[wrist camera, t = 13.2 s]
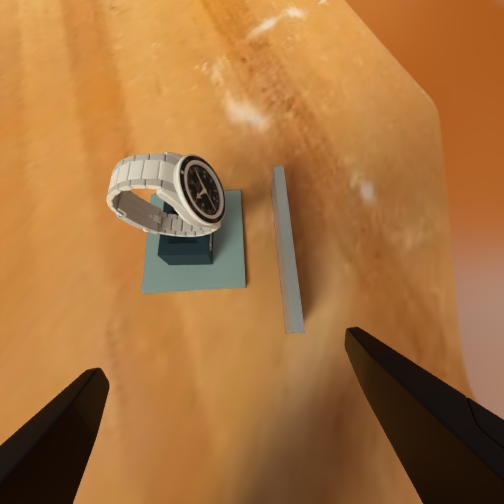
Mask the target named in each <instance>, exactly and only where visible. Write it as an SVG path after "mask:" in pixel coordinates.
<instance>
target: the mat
mask: <svg viewBox="0 0 504 504" xmlns="http://www.w3.org/2000/svg"><path fill="white" fill-rule="evenodd" d="M224 194H225V201H226V209H225V214H224V217H223V219H222V220H221V227H220V228H218V229H217V230H216V231H214V235H213V261H212V265H168V264H167V263H166V262H165V261H163V260H162V259H161V258H160V257H159V256H158V255H157V254H158V246H159V238H160V233H157V235H156V234H153V233H150V232H147V241H146V252H145V262H144V272H143V283H142V293H143V294H145V293H161V292H178V291H195V290H212V289H229V288H245V287H246V284H245V265H244V246H243V227H242V207H241V190H230V191H224ZM150 204H152V205H154V206H156V207H159V208H161V212H163V205H164V200H162V199H161V198H159V197H158V196H157V195H156V194H151V200H150Z"/></svg>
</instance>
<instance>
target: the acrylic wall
mask: <svg viewBox="0 0 504 504" xmlns="http://www.w3.org/2000/svg"><path fill="white" fill-rule="evenodd" d="M271 193H272V203H273V213H274V222H275V232H276V242H277V252H278V261H279V271H280V281H281V290H282V300H283V310H284V320H285V329H286V333H302V332H305V330H304V322H303V314H302V306H301V299H300V291H299V283H298V275H297V267H296V260H295V252H294V244H293V236H292V229H291V221H290V213H289V205H288V197H287V190H286V182H285V174H284V166H274V167H273V174H272V182H271Z"/></svg>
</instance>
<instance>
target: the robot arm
mask: <svg viewBox="0 0 504 504" xmlns="http://www.w3.org/2000/svg"><path fill="white" fill-rule="evenodd" d="M345 349H346V352H347V354H348V357H349V359H350V361H351V364H352V366H353V369H354V371H355V373H356V376H357V378H358V381H359V383H360V385H361V388H362V390H363V392H364V394H365V396H366V398H367V400H368V402H369V404H370V405H371V407H372V409H373V411H374V413H375V415H376V417H377V419H378V420H379V422H380V424H381V426H382V428H383V430H384V432H385V433H386V435H387V437H388V439H389V441H390V443H391V445H392V446H393V448H394V450H395V452H396V454H397V456H398V458H399V460H400V461H401V463H402V465H403V467H404V469H405V471H406V473H407V474H408V476H409V478H410V480H411V482H412V484H413V486H414V487H415V489H416V491H417V493H418V495H419V497H420V499H421V501H422V502H423V504H504V420H503V419H502V418H500V417H498V416H497V415H495V414H493V413H492V412H490V411H489V410H487V409H485V408H484V407H482V406H481V405H479V404H478V403H476V402H475V401H473V400H471V399H470V398H466V396H465V395H463V394H462V393H460V392H459V391H457V390H456V389H454V388H453V387H451V386H449V385H448V384H446V383H445V382H443V381H442V380H440V379H439V378H437V377H435V376H434V375H432V374H431V373H429V372H428V371H426V370H425V369H423V368H421V367H420V366H418V365H417V364H415V363H414V362H412V361H411V360H409V359H407V358H406V357H404V356H403V355H401V354H400V353H398V352H397V351H395V350H393V349H392V348H390V347H389V346H387V345H386V344H384V343H383V342H381V341H379V340H378V339H376V338H375V337H373V336H372V335H370V334H369V333H367V332H365V331H364V330H362V329H361V328H359V327H350V328H347V329H346V334H345ZM108 392H109V381H108V379H107V378H106V376H105V374H104V372H103V370H102V369H101V368H92V369H88V370H86V371H85V372H83V373H82V374H81V375H80V376H79V377H78V378H77V379H75V380H74V381H73V382H72V383H71V384H70V385H69V386H68V387H66V388H65V389H64V390H63V391H62V392H61V393H60V394H58V395H57V396H56V397H55V398H54V399H53V400H52V401H50V402H49V403H48V404H47V405H46V406H45V407H44V408H43V409H41V410H40V411H39V412H38V413H37V414H36V415H35V416H33V417H32V418H31V419H30V420H29V421H28V422H27V423H25V424H24V425H23V426H22V427H21V428H20V429H19V430H18V431H16V432H15V433H14V434H13V435H12V436H11V437H10V438H8V439H7V440H6V441H5V442H4V443H3V444H2V445H0V504H73V501H74V499H75V496H76V493H77V490H78V488H79V485H80V482H81V479H82V476H83V474H84V471H85V468H86V465H87V463H88V460H89V457H90V454H91V451H92V449H93V446H94V443H95V440H96V437H97V433H98V430H99V426H100V422H101V419H102V415H103V411H104V407H105V403H106V399H107V396H108Z"/></svg>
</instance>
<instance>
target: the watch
mask: <svg viewBox="0 0 504 504" xmlns="http://www.w3.org/2000/svg"><path fill="white" fill-rule="evenodd" d="M146 187H147V188H150V189H160V190H157V193H156V195H157V196H158V197H159V198H161V199H162V200H164V205H163V212H161V208H159V207H156V206H154V205H152V204H150V203H148V202H147V201H145V200H143V199H141V198H140V197H138V196H137V195H135V194H134V193H133V192H131V191H126V190H131V189H132V188H134V189H140V188H143V189H144V188H146ZM107 204H108V206H109V208H110V209H111V210H112V211H113V212H114V213H115V214H116V216H117V217H118V218H119V219H121V220H123V221H125V222H127V223H129V224H131V225H133V226H135V227H137V228H139V229H142V230H143V231H145V232H150V233H153V234H156V235H157V233H160V238H159V246H158V254H157V255H158V256H159V257H160V258H161V259H162V260H163V261H165V262H166V263H167V264H168V265H212V261H213V235H214V231H216V230H217V229H218V228H220V227H221V220H222V219H223V217H224V214H225V209H226V201H225V194H224V190H223V187H222V184H221V182H220V180H219V177H218V176H217V174H216V172H215V171H214V169H213V168H212V167H211V166H210V165H209V163H208V162H207V161H206V160H204V159H203V158H201V157H200V156H197V155H194V154H189V155H186V156H184V155H180V154H176V153H171V152H164V153H162V154H139V155H136V156H135V155H133V156H130V157H127V158H125V159H124V160H122V161H120V162H119V163H118V164H117V165H116V166H115V168H114V169H113V172H112V177H111V181H110V186H109V191H108V195H107Z"/></svg>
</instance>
